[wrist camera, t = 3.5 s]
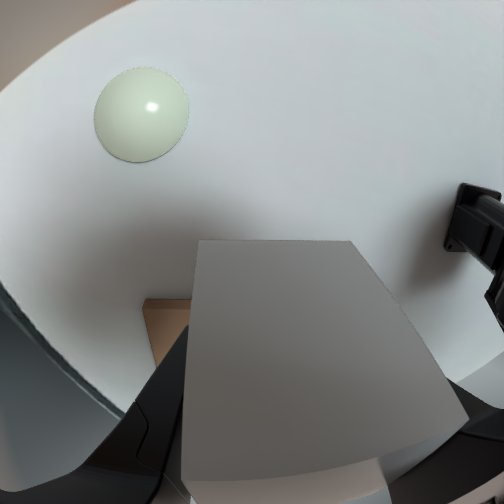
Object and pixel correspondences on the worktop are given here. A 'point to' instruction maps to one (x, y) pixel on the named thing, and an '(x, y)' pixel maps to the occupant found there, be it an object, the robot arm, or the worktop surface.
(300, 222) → the worktop surface
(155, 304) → the walnut board
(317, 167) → the worktop surface
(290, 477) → the slate block
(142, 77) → the pale green rounded piece
